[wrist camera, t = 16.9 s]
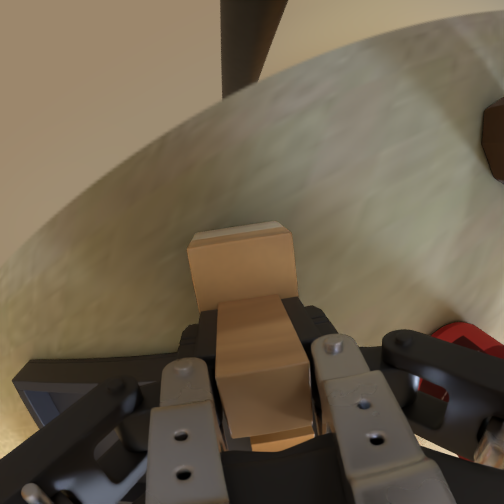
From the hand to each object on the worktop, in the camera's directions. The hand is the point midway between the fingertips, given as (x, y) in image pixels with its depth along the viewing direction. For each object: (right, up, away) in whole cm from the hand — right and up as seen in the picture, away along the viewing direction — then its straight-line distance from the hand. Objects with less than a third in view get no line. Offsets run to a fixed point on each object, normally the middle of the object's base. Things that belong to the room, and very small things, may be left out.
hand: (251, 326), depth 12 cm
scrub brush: (0, +1, +4) cm, 4 cm away
